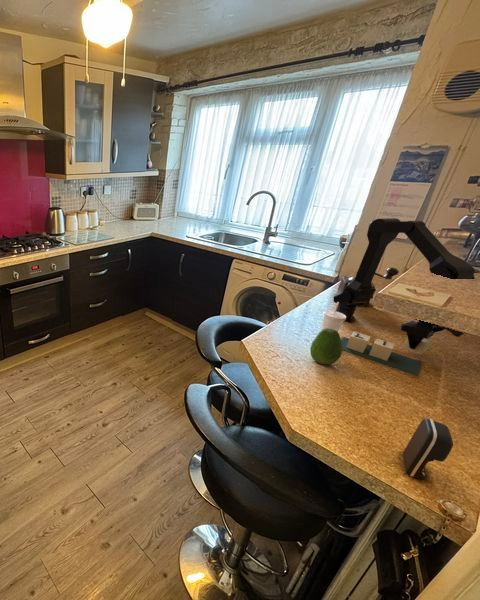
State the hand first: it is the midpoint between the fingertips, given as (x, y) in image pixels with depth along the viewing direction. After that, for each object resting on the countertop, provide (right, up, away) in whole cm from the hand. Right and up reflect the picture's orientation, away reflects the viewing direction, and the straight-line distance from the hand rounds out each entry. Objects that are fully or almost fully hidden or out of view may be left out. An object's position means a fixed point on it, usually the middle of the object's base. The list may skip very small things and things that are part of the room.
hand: (415, 346), depth 103 cm
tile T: (0, -1, 0) cm, 1 cm away
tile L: (-15, -1, +5) cm, 16 cm away
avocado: (-32, -5, -2) cm, 33 cm away
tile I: (-11, -3, 0) cm, 12 cm away
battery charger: (-38, -20, -36) cm, 56 cm away
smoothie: (-21, +1, +11) cm, 23 cm away
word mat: (-12, -3, +1) cm, 12 cm away
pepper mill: (+15, +14, +38) cm, 43 cm away
